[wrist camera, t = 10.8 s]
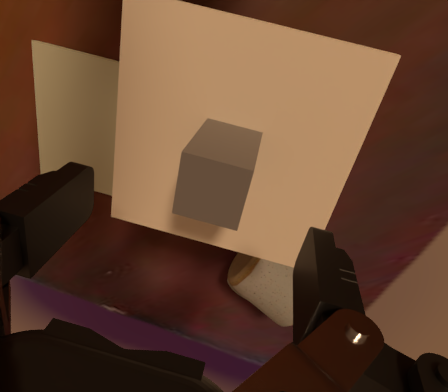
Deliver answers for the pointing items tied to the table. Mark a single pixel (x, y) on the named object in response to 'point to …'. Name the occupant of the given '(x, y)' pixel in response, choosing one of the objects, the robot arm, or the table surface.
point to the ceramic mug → (264, 286)
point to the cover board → (237, 125)
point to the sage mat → (76, 110)
